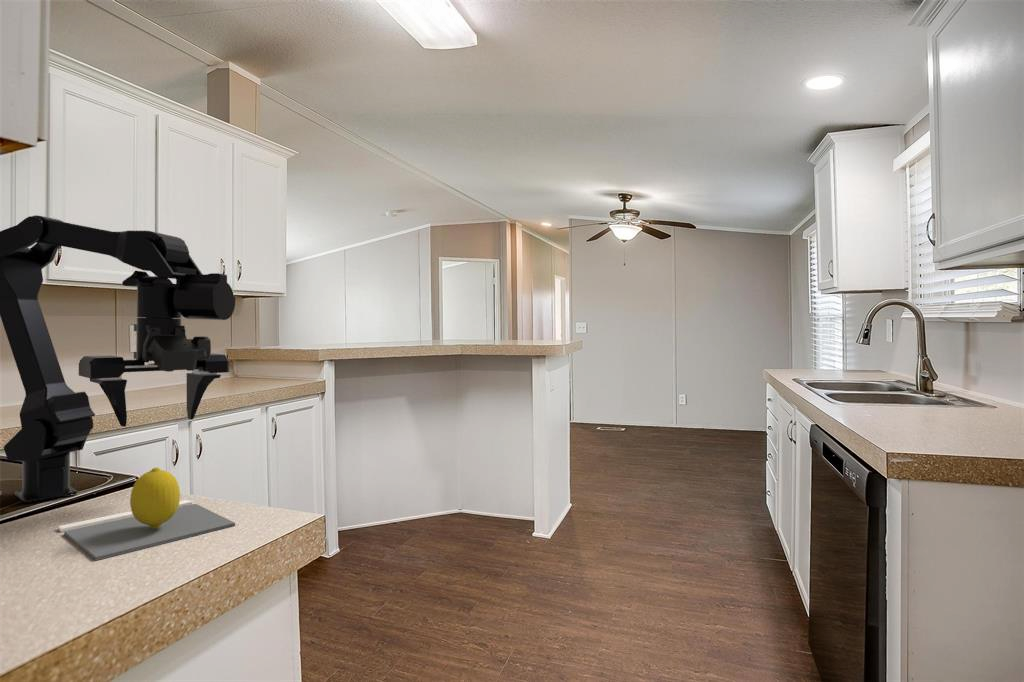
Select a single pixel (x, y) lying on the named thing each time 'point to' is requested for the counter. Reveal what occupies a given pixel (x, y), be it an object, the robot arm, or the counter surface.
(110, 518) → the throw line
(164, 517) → the lemon
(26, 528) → the counter surface
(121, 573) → the counter surface
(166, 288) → the robot arm
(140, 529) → the mat
